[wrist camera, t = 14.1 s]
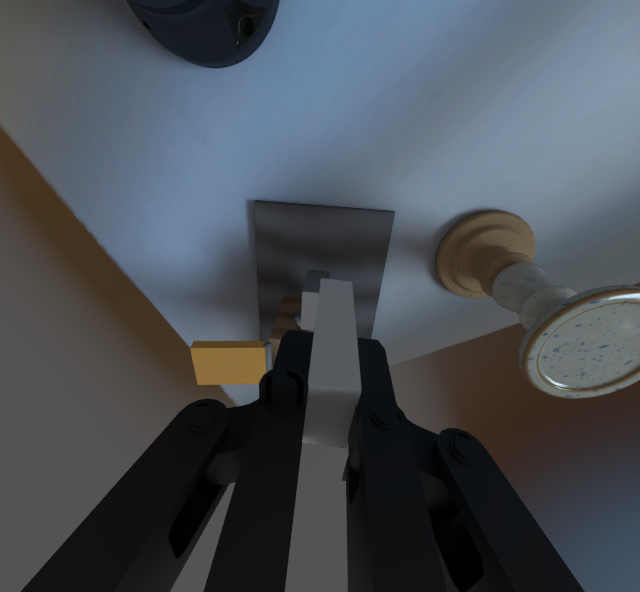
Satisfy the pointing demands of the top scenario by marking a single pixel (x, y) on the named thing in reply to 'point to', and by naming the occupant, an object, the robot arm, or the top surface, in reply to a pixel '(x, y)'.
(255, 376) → the plate
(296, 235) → the hitch block
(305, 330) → the lynch pin
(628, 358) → the candle holder
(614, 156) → the top surface
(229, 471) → the robot arm
